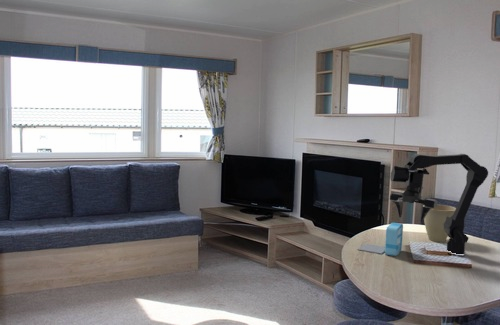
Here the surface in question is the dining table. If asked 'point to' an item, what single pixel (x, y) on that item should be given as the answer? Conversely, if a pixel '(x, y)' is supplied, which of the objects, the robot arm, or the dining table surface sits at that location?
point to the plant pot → (437, 222)
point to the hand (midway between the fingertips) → (410, 219)
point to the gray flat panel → (372, 248)
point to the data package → (393, 239)
